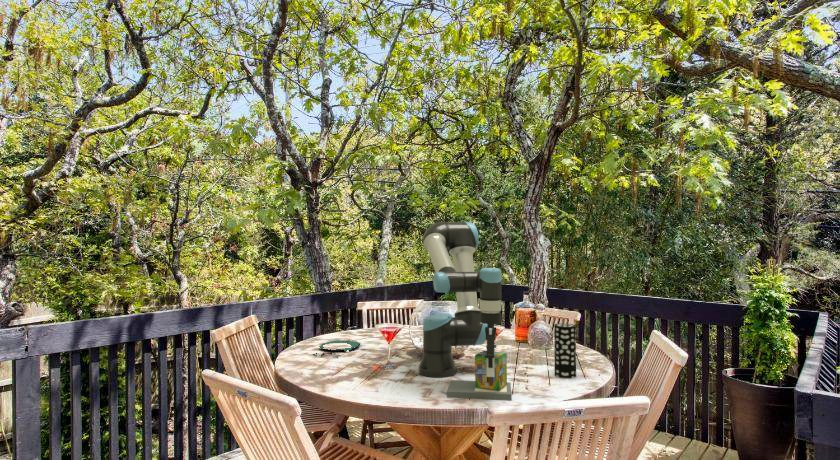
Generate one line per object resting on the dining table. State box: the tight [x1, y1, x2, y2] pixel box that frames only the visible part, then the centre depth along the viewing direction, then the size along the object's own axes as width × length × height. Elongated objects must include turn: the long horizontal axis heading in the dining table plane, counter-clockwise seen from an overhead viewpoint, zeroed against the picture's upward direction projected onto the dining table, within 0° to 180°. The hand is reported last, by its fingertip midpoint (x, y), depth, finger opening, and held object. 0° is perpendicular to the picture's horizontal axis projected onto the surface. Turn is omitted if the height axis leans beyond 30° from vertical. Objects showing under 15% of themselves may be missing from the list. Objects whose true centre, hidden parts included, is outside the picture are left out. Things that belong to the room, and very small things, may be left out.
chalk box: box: [474, 344, 508, 391], centre depth 182 cm, size 9×9×15 cm
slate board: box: [446, 379, 513, 401], centre depth 182 cm, size 22×14×2 cm, turn 81°
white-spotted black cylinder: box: [553, 322, 577, 379], centre depth 204 cm, size 8×8×20 cm
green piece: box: [318, 339, 361, 352], centre depth 249 cm, size 20×30×2 cm, turn 164°
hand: (490, 371), depth 182 cm, fingers open, 13 cm apart
